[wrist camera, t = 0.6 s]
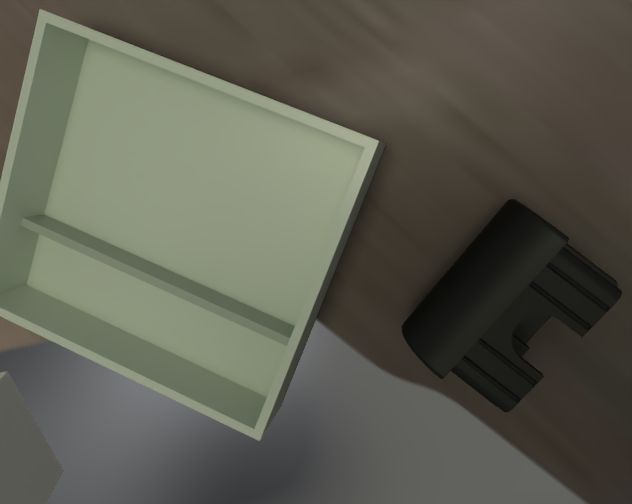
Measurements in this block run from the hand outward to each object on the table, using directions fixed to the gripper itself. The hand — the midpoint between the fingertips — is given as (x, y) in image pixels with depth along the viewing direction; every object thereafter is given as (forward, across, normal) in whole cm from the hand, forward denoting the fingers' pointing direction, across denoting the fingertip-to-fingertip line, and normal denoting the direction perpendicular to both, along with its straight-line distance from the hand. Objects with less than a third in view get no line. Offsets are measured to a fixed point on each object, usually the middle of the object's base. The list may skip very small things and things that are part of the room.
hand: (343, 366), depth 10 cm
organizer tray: (+27, +11, +6) cm, 29 cm away
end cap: (+22, -9, +12) cm, 26 cm away
